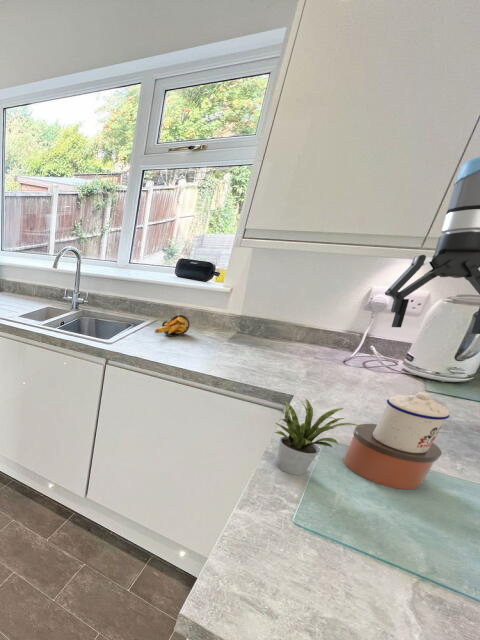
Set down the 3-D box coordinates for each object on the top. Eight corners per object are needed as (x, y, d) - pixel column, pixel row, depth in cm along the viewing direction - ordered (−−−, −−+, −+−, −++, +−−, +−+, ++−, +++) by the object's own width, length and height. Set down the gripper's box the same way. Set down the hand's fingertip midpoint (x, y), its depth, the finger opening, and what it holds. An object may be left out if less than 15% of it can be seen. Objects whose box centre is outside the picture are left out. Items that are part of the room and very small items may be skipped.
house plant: (342, 470, 93) (372, 405, 86) (332, 498, 84) (365, 429, 77) (267, 444, 102) (289, 384, 95) (252, 468, 93) (275, 404, 86)
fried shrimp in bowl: (198, 324, 179) (183, 318, 166) (180, 344, 184) (164, 340, 171) (182, 312, 184) (166, 305, 171) (164, 332, 189) (147, 327, 177)
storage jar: (410, 463, 95) (427, 433, 92) (434, 498, 84) (454, 465, 81) (335, 447, 101) (348, 418, 98) (348, 477, 90) (364, 446, 87)
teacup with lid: (425, 460, 82) (454, 408, 77) (366, 440, 89) (389, 392, 84) (434, 439, 89) (461, 391, 84) (378, 423, 95) (400, 377, 91)
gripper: (535, 238, 89) (502, 336, 93) (383, 236, 100) (359, 324, 104) (564, 231, 82) (527, 337, 86) (397, 230, 93) (371, 324, 97)
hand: (435, 330), depth 95 cm, fingers open, 13 cm apart
